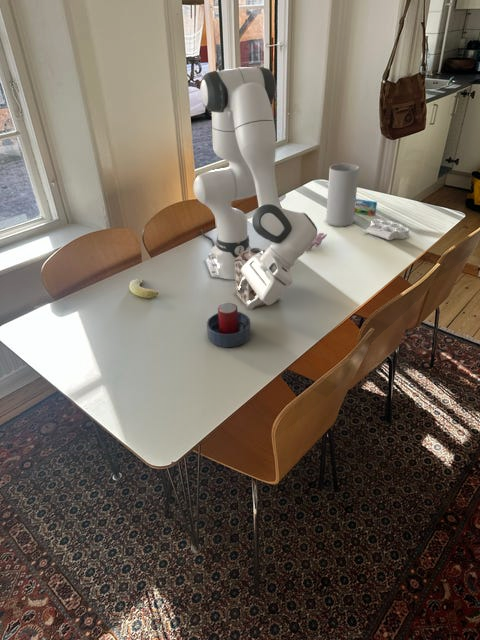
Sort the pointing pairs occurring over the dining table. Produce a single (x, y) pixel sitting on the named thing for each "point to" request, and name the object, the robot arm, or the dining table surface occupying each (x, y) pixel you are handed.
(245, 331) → the bowl
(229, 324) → the can
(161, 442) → the dining table surface
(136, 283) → the fruit
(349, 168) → the cylinder vase
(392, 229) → the egg carton
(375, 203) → the colorful printed box
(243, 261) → the decorative jar
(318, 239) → the pink antlered figurine
